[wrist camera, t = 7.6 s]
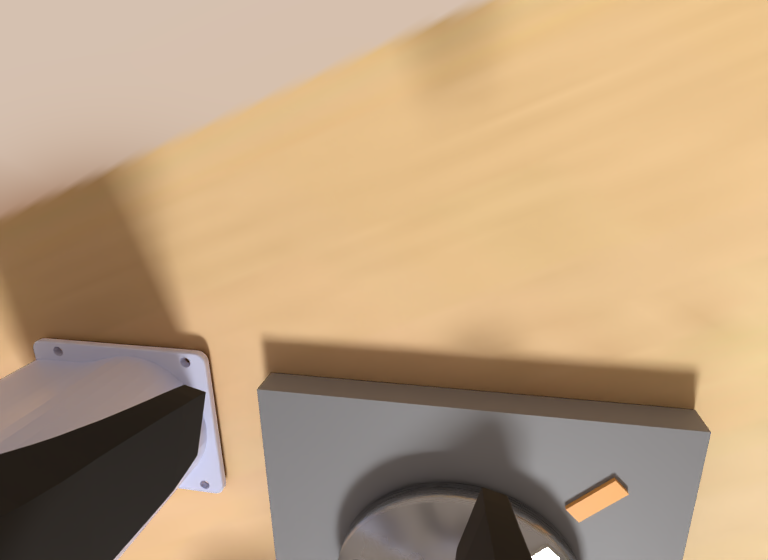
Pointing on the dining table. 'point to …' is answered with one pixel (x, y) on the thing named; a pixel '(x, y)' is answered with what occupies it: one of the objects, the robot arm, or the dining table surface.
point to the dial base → (479, 461)
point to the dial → (437, 526)
